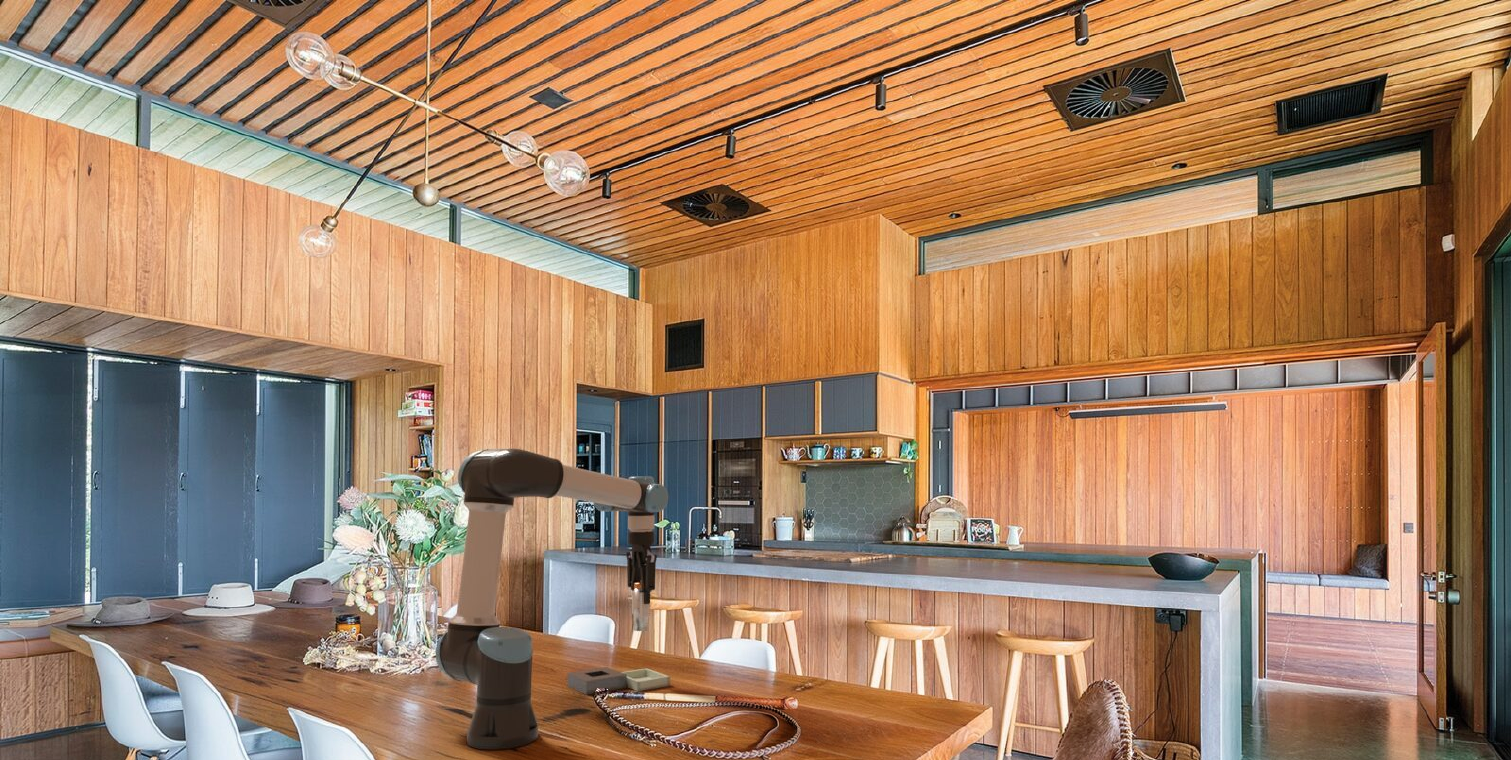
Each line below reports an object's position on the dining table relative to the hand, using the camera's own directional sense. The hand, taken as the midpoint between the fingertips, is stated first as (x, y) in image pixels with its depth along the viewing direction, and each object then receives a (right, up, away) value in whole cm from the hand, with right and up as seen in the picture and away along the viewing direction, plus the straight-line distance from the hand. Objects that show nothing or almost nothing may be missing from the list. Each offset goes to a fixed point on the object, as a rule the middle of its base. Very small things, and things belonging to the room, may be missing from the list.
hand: (640, 614), depth 239 cm
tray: (+1, -19, -2) cm, 19 cm away
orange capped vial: (0, -4, 0) cm, 4 cm away
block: (-11, -19, -5) cm, 22 cm away
